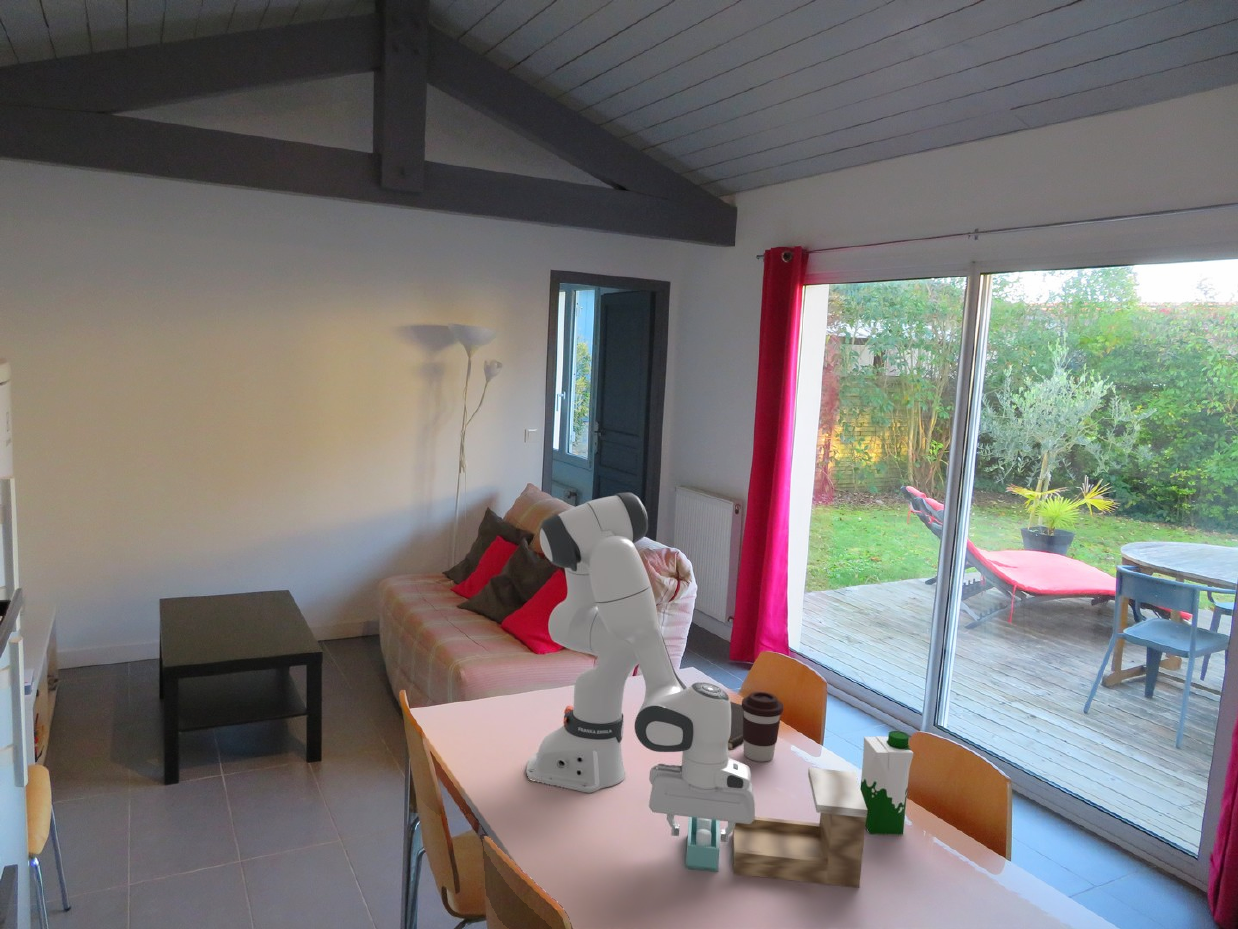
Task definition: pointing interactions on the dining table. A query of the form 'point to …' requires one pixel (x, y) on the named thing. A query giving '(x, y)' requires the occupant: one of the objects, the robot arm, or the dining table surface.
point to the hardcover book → (736, 726)
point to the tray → (703, 852)
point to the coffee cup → (761, 725)
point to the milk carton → (886, 781)
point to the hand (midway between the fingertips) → (699, 837)
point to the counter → (809, 837)
